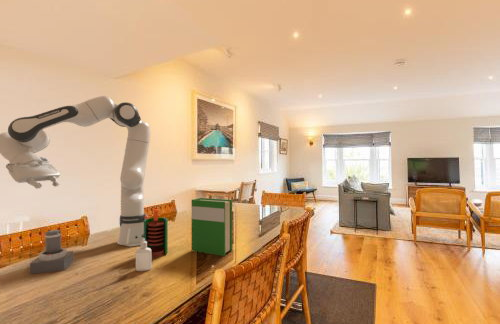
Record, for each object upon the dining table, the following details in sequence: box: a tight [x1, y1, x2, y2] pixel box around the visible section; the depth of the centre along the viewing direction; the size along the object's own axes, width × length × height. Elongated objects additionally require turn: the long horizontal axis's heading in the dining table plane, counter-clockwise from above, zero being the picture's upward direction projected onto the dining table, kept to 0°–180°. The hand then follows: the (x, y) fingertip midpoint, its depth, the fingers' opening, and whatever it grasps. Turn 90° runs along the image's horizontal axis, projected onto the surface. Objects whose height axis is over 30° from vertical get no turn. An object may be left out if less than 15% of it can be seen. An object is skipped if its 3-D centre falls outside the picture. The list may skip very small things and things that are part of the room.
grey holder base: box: [29, 247, 75, 275], centre depth 106 cm, size 11×11×6 cm
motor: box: [144, 208, 169, 258], centre depth 120 cm, size 10×9×20 cm
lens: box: [44, 229, 62, 255], centre depth 106 cm, size 5×5×10 cm
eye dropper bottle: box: [135, 238, 153, 272], centre depth 103 cm, size 4×6×12 cm
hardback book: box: [191, 197, 233, 257], centre depth 124 cm, size 18×7×24 cm, turn 66°
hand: (48, 186), depth 114 cm, fingers open, 8 cm apart
